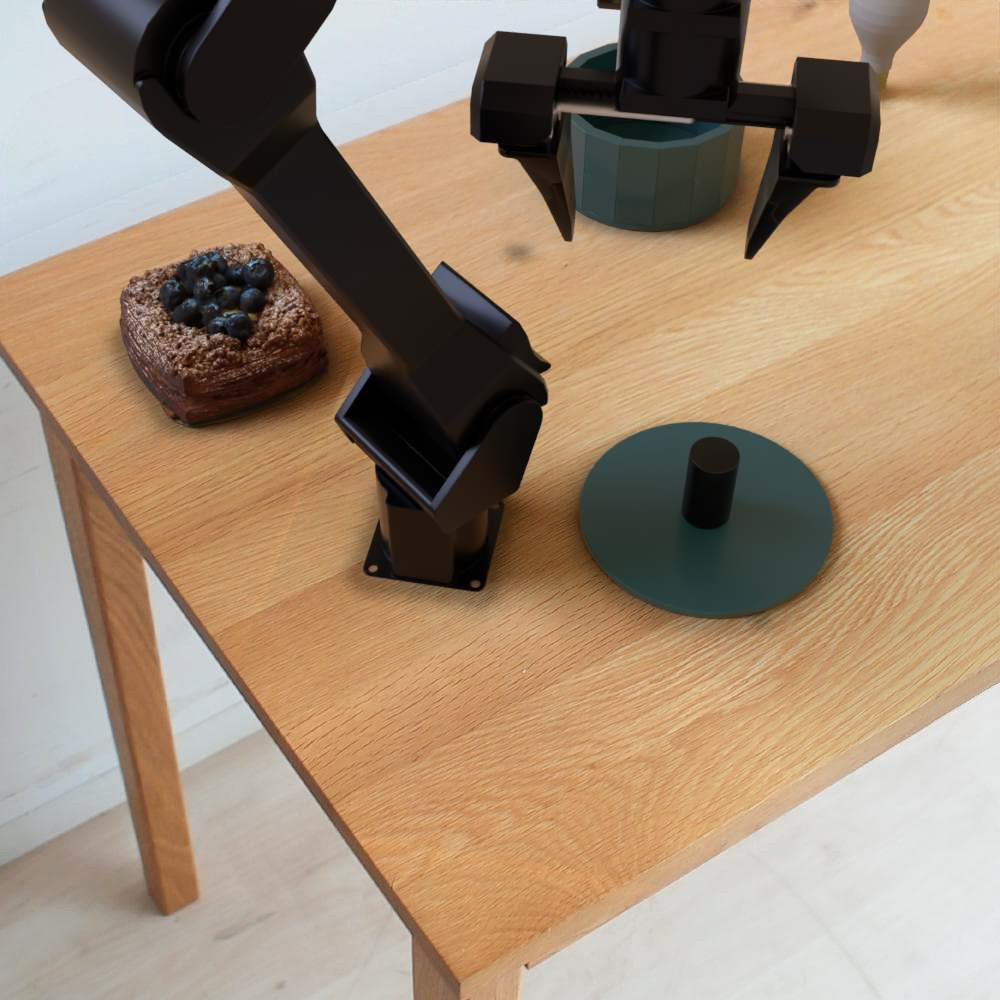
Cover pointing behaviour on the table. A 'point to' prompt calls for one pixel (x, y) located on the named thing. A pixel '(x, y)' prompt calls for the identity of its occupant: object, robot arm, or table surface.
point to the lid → (705, 520)
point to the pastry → (222, 334)
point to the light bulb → (885, 29)
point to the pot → (650, 164)
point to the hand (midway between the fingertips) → (658, 245)
